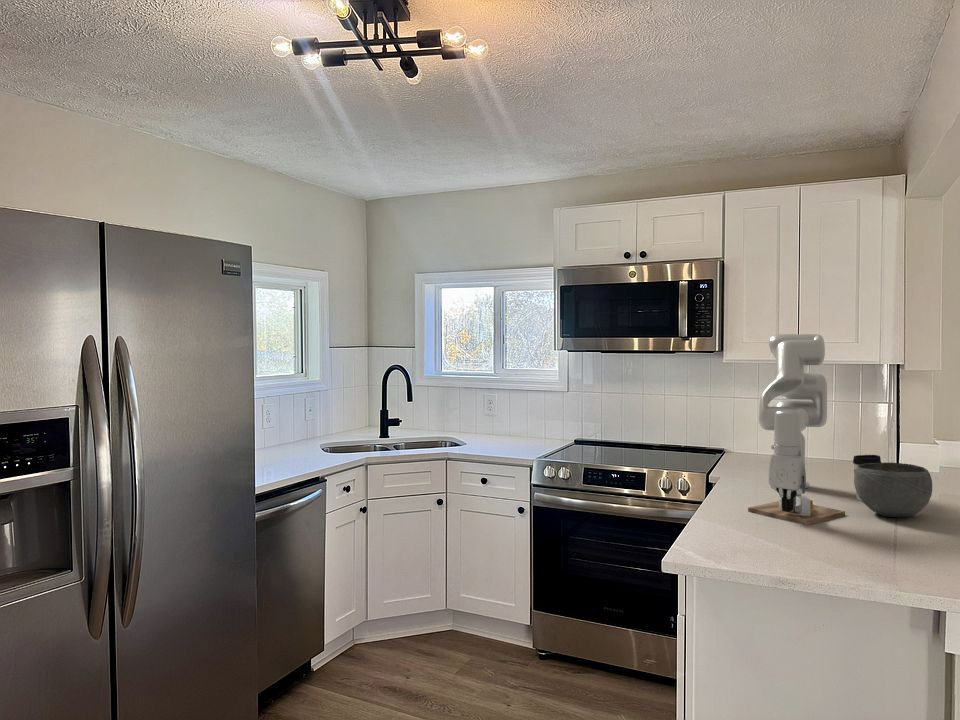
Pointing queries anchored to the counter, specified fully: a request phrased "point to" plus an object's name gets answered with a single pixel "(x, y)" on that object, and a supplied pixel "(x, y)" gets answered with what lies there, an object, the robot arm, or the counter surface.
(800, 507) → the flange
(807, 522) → the post base
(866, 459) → the coffee cup
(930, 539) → the counter surface
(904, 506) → the bowl
